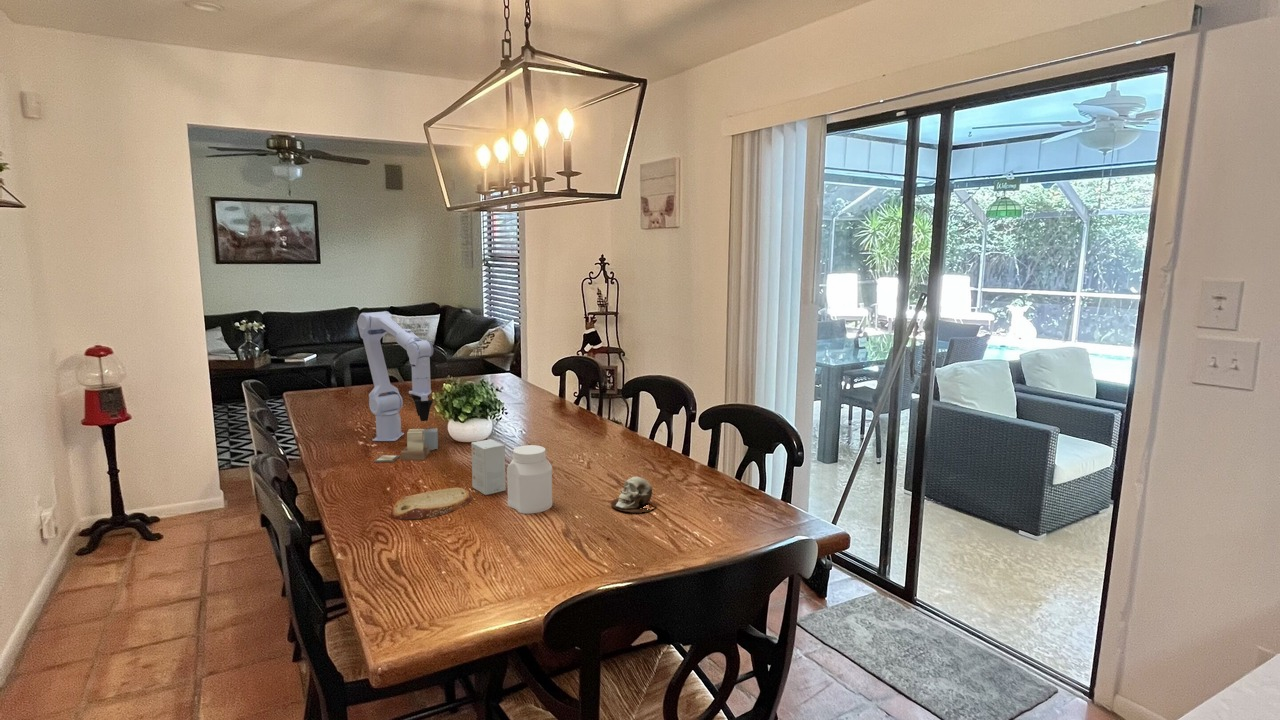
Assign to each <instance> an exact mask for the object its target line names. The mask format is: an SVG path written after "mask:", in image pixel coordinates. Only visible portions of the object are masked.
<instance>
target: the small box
mask: <svg viewBox="0 0 1280 720" xmlns="http://www.w3.org/2000/svg"><path fill="white" fill-rule="evenodd" d="M470 446H471V478H472V479H471V481H472V482H471V483H472V484H471V485H472V488H473V489H474V490H476V491H478V492H480V493H481V494H483V495H485V496H488V495H492V494H497V493H500V492H504V491H506V490H507V486H506V485H507V484H506V483H507V482H506V480H507V479H506V445H504V444H503V443H501V442H498V441H496V440H494V439H492V438H489V439H484V440H477V441H473V442H472V441H471V445H470Z"/></svg>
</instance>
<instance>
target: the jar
mask: <svg viewBox="0 0 1280 720" xmlns="http://www.w3.org/2000/svg"><path fill="white" fill-rule="evenodd" d="M546 449H547V448H545V447H544V446H540V445H536V444H534V445H533V444H529V445H528V444H527V445H520V446H517V447H515V448H514V449H513V450H512V454H513V456H512V460H511V461H510V463H509V464H508V466H507V467H506V473H507V475H506V476H507V477H506V478H507V479H506V480H507V506H508V507H509V508H512V509H514V510H516V511H517V512H518V513H520V514H526V515H530V514H538V513H539V514H540V513H542V512H545V511H548V510H550V509H551V508H552V506H553V466H552V464H551V463H550V461H549V459H547V457H546Z"/></svg>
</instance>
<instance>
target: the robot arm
mask: <svg viewBox="0 0 1280 720" xmlns="http://www.w3.org/2000/svg"><path fill="white" fill-rule="evenodd" d="M356 323H357V327H358V331H359V336H360V338H361V339H362V341H363V345H364V349H365V353H366V356H367V357H366V359H367V362H368V366H369V370H370V374H371V379H372V382H373V386H374V387H373V388H372V390H371V391H370V392H369V393H368V398H369V399H368V400H369V402H368V404H369V405H368V406H369V410H370V411H371V413H372V414H373V415H375V431H376V433H375V434H376V435H375V437H374V438H372V441H371V442H396V441H397V440H399V439H400V438H401V437H402V436H403V435H405V432H402V425H401V424H402V421H401V420H402V419H401V418H402V417H401V415H400V410H401V409H402V408H403V406H404V405H403V404H404V400H403V397H402V396H401V394H400V392H399V388H398V387H397V386H395V385H393V384H392V383H391V381H390V376H389V372H388V369H387V368H388V367H387V365H386V360H385V356H384V352H383V349H382V344H381V339H382V338H383V337H385V335H386V334H387V333H389V334H390V335H392V336H393V337H394V338H395V342H396V344H398V345H399V346H400V347H402V348H403V349H404V350H405V351H406V353H407V356H408V358H409V364H410V366H411V383H412V385H411V386H412V387H411V390H409V391H408V394H409V395H411V398H412V400H413V402H414V405H415V409H416V414H417V416H418V417H419V419H420V422H428V419H429V415H430V410H431V406H432V405H433V402H434V399H429V397H430V395H431V393H432V388H431V387H432V386H431V385H432V384H431V382H432V381H431V364H430V363H431V362H430V361H431V359H430V357H432V356H433V354H434V346H433V343H432V342H431V341H430V340H429V339H421V338H420V337H419V336H418V335H416V334H415V333H414V332H413V331H412V330H411V329H410V328H402V327H401V326H400V325H399V324H398V323H397V322H396V321H395V320H394V318H393V314H392V313H390V312H389V311H387V310H384V311H376V312H375V311H373V312H361V313H360V314H359V315H358V319H357V322H356Z"/></svg>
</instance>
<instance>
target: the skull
mask: <svg viewBox="0 0 1280 720" xmlns="http://www.w3.org/2000/svg"><path fill="white" fill-rule="evenodd" d="M623 485H624V488H622V489H620V494H619V495H618V498H614V499H612V500H611V502H610V505H611V507H612V508H614V509H616V510H618V511H621V512H622V511H623V512H627V513H628V512H629V513H637V514H642V512H645V513H647V512H648V513H649V512H652V511H651V510H650V509H648V510H647V508H643V507H644V506H646V505H648V504H649V502H650V501H651V498H652V495H653V487H652V485H651V484H650V483H649V482H648V481H647V480H646V479H645V478H643V477H640V476H636V475H635V476H631V477H630V478H628V479H627V480H626V481H624V483H623ZM640 508H642V509H640ZM643 509H644V510H643Z"/></svg>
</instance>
